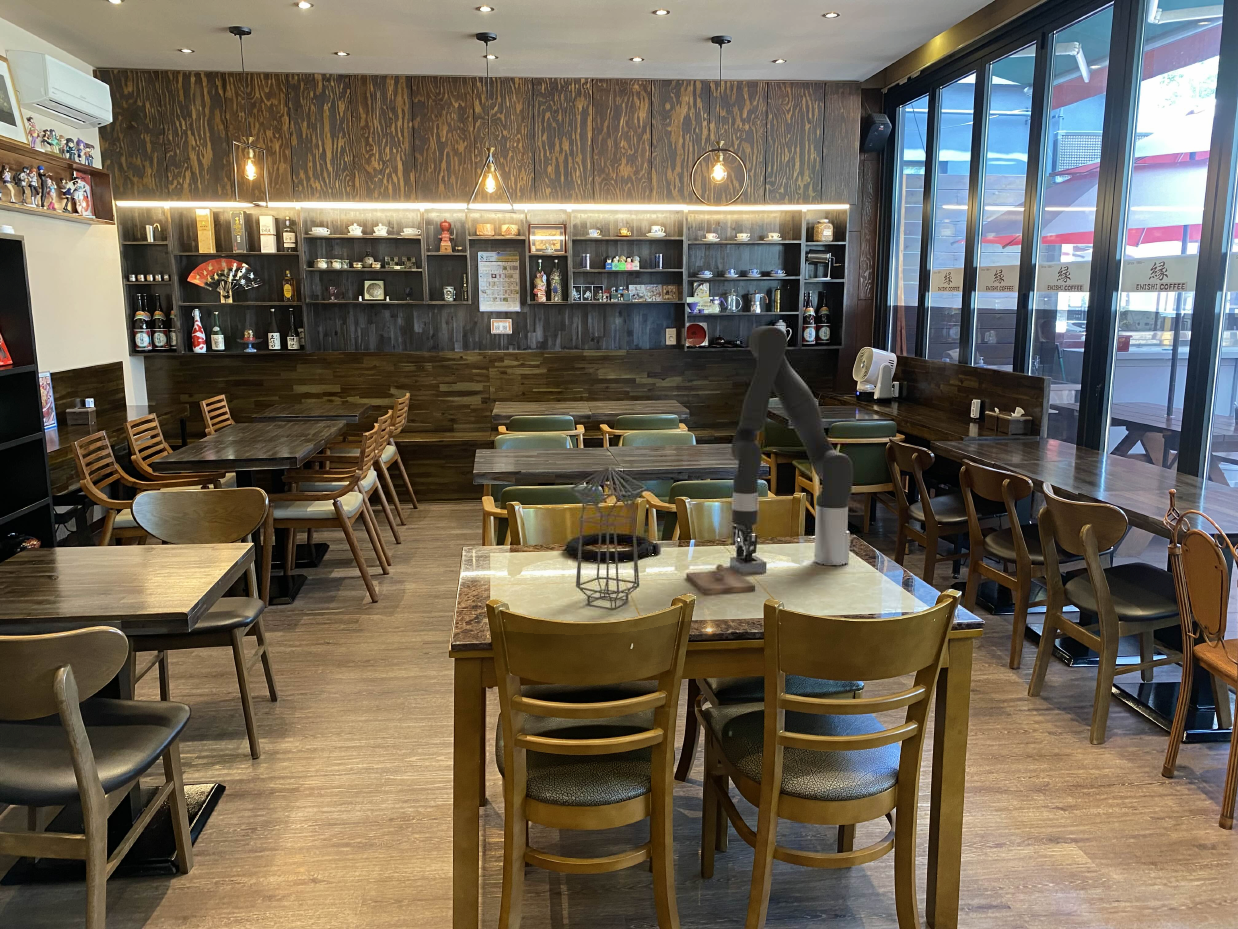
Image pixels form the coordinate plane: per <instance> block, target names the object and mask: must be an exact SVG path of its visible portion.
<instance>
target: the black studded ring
mask: <svg viewBox="0 0 1238 929" xmlns="http://www.w3.org/2000/svg"><path fill="white" fill-rule="evenodd" d="M579 539H580V535H578V536H577V537H574V538H571V539H570V540H568V541H567V543H566V544H565V547H564V548H565V551H566V553H567V555H569V556H570V555H571V556H570V557H572V556H573V557H572V558H575V557H577V558H576V559H578V552H579ZM616 539H617V544H620V543H626V544H625V545H627V544H631V545H630V546H634V544H633V534H631V533H630V534H629V533H623V532H622V533H617V532H616ZM602 544H607V532H601V545H602ZM609 544H615V541H614V532H609ZM584 545H586V546H591V545H599V533H597V532H595V533H591V534H582V548H581V559H585V560H584V561H588V560H593V561H598V550H597V549H590V548H583V547H585V546H584ZM636 546H638V547H637V559H638V558H640V559H642V558H641V557H643V558H645V557H647V556H648V557H651V556H657V555H658V554H660V555H661V553H662V546H661V543H658V542H653V541H651V540H649V539H648V538H647V537H644V536H641V535H638V534H636ZM656 553H657V554H656ZM652 554H654V555H652ZM617 559H618V561H623V562H625V561H624V560H630V561H634V560H633V559H634V547H633V548H628V549H617ZM638 560H639V559H638ZM593 561H592V562H593ZM600 561H607V550H601V549H600ZM609 561H615V550H609Z"/></svg>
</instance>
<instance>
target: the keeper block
mask: <svg viewBox="0 0 1238 929" xmlns="http://www.w3.org/2000/svg"><path fill="white" fill-rule="evenodd" d="M715 569H716V570H712V571H711V570H710V571H708V570H707V571H696V572H686V573H685V574H686V575H685V576H686V577H685V578H686V579H687V580H688V581H689V582H690V583H691V584H692V585H693V586H695V587H696V589H698V590H699V591H700V592H701V593H703V594H704V595H718V594H731V593H732V594H733V593H744V592H745V593H747V592H756V585H755V583H753V582H751V581H750V580H749V579H747V578H746V577H745V576H743V574H739V573H737V572H736V571H735V570H733V569H727V570H726V569H725V567H724V565H723V564H717V565H716V567H715Z"/></svg>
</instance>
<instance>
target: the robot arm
mask: <svg viewBox="0 0 1238 929" xmlns="http://www.w3.org/2000/svg"><path fill="white" fill-rule="evenodd" d="M748 347H749V349H750V351H751V353H752V355H753V357H754V358H755V360H756V361H757V362H756V366H755V367H756V369H755V370H754V371H755V373H754V375H753V378H752V381H751V383H750V386H748V387H749V388H748V390H747V392H746V393H745V397H744V400H743V404H742V409H741V414H740V419H739V425H738V426H737V428H736V431H735V434H734V436H733V439H732V443H731V454H732V457H733V459H734V460H736V461H738V463H737V464H738V465H737V471H736V472H735V473H734V475H733V484H732V485H733V487H732V488H733V489H732V490H733V491H732V492H733V493H732V498H731V500H732V501H731V523H732V525H731V526H732V527H731V528H732V545H733V546H735V547H734V548H735V549H736V550H735V552H736V553H735V557H741V556H744V562H752V556H753V555H754V554H757V545H758V537H759V536H758V533H754V529H753V526H755V525H757V524H759V495H758V494H759V491H758V490H759V481H758V480H759V474H760V472H761V471H760V470H761V466H762V460H763V451H762V448H761V446H760V444H759V443H758V442H757V438H758V434H759V433H760V432H762V431H763V430H764V426H765V424H766V418H767V413H768V409H769V404H770V399H771V395H772V391H774V393H775V395H776V397H777V398H778V400H779V402H780V405H781V407H782V408H783V411H784V413H785V415H786V416H787V419H788V420H789V422H790V424H791V425H792V427H793V429H794V431H795V433H796V434H797V436H798V438H799V440H800V441H801V443H802V444H803V447H804V449H805V451H806V454H807V457H808V459H809V461H810V463H811V467H812V470H813V471H814V473H815V475H816V476H817V477H818V478H819V479H821V481H822V482H821V484H822V485H821V490H820V491H821V492H820V493H819V494H817V496H816V501H815V502H816V503H815V527H814V528H815V530H814V555H813V557H814V563H816V562H817V563H816V564H818V563H819V564H818V565H822V564H824V565H823V566H831V565H837V566H842V564H843V565H845V563H846V564H849V563H850V543H851V542H850V540H851V539H850V538H851V533H850V531H849V530H848V520H849V519H848V518H849V517H848V515H849V501H850V499H851V496H852V490H853V488H852V487H853V480H854V479H853V477H854V470H853V469H854V467H853V462H852V460H851V458H849V456H848V455H846V454H845V453H841V452H839V451H837V450H836V449H834V447H833V445H832V444H831V442H830V440H829V438H828V437H827V435H826V433H825V432H826V431H825V429H824V426H823V425H824V424H823V418H822V414H821V409H820V407H819V405H818V402H817V401H816V398H815V396H814V395H813V393H812V391H811V389H810V388H809V387H808V385H807V384H806V382H804V380H803V379H802V378H801V377H800V375H799V374H798V373H797V372H796V371H795V370H794V369H793V368H792V366H791V365H790V363H789V361H788V360H787V357H786V355H785V354H786V350H787V347H788V336H787V334H786V333H785V330H783V329H782V328H780V327H779V326H773V325H763V326H759V327H756V328H754V329H753V330H752V331H751V333H750V334H749V337H748Z"/></svg>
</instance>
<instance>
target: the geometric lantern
mask: <svg viewBox="0 0 1238 929" xmlns="http://www.w3.org/2000/svg"><path fill="white" fill-rule="evenodd" d="M607 477H608V483H607V482H606V481H607ZM621 477H622V478H623V479H625V480H627V481H629V482H630V483H632V484H634V485H637V486H629V485H628V484H627V483H626V482H625V481H624V480H623V479H622V478H621ZM592 478H593V479H592ZM612 478H613V480H614V483H615V484H613V480H612ZM591 479H592V480H591ZM589 480H590V482H589V483H588V484H586V486H584V487H583V488H578V487H579V486H581V485H583V484H584V483H586V482H588V481H589ZM602 481H603V482H602ZM620 483H621V484H622V485H623V486H624V487H625V488H624V487H622V485H621V484H620ZM601 485H603V486H605V487H606V488H607V490H609V491H610V493H598V490H599V489H600V486H601ZM614 488H615V489H617V491H618V492H616V491H615V490H614ZM636 489H637V490H636ZM648 489H649V488H648V487H646V486H645V485H643V484H641V483H639V482H638V481H636V480H634V479H632V478H631V477H630V476H628V475H626V474H625V473H623V472H620V471H619V470H617V469H616V468H614V467H612V466H611V467H610V466H608V467H607V466H606V467H604V468H603V469H601V470H599V471H597V472H596V473H595V474H594V473H593V474H592V475H591V476H589V477H587V478H585V479H583V480H582V481H580V482H578V483H577V484H575V485H573V486H571V487H570V488H568V491H569V492H571V493H572V494H573V495H575V497H576V498H578V499H579V500H580V501H581V502H582V506H581V515H580V518H579V521H580V522H579V524H580V525H579V536H580V539H579V552H578V558H577V567H576V568H577V569H576V580H575V588H577V589H578V590H580V592H582V594H584V595H585V596H586V599H587V600H586V605H587V606H589V607H590V606H591V607H596V608H600V609H601V608H602V609H607V610H616V609H618V608H620V607H622V606H624V605H625V604H627V603H629V602H630V601H629V595H630V594H632V593H633V592H634V591H636V590H637V589H639V587H640V576H639V575H640V574H639V562H638V561H639V559H637V548H638V547H637V546H636V535H637V532H636V507H635V504H636V500H638V499H639V497H640V496H642V494H643V493H644V492H645V491H646V490H648ZM592 490H593V491H592ZM633 490H635V491H633ZM581 494H582V495H581ZM587 495H589V497H587ZM612 496H613V497H617V499H616V501H615V502H614V504H613V505H612V507H611V508H610V510H609V511H608V513H607V514H606V513H604V512H603V511H602V509H601V507H600V506H599V504H601V503H603V502H605V501H606V500H608V499H609V498H611V497H612ZM623 496H624V497H623ZM596 497H603V498H602V499H600V500H599V501H597V502H596ZM632 498H633V499H632ZM631 499H632V501H631V502H629V501H630V500H631ZM619 500H620V501H621V502H622V504H623V505H622V506H621V508H619V510H618V512H617V514H611V513H612V512H613V510H614V508H615V507H616V505H617V504H618V502H619ZM588 501H590V502H591V503H588ZM631 505H632V513H631V509H630V506H631ZM624 506H625V507H627V509H628V512H629V515H630V516H626V515H619V514H620V513H621V511H622V509H623V508H624ZM586 507H595V509H596V511H597V512H598V514H595V515H592V516H588V517H584V515H585V514H584V513H585V510H586ZM596 517H599V521H598V522H597V521H591V520H589V519H592V518H596ZM610 517H615V518H614V519H613V521H612V522H611V523H610ZM617 518H624V519H625V518H626V519H631V520H627V521H622V522H619V523H615V521H616V519H617ZM603 520H604V521H605V523H603ZM584 523H589V524H590V523H591V524H597V525H599V531H598V532H599V544H598V562H597V569H596V577H595V578H592V579H588V580H586V581H583V582H581V575H582V572H581V570H582V560H581V548H583V546H582V535H583V527H584V526H583V525H584ZM627 523H632V535H633V544H634V545H633V548H634V560H633V577H634V580H627V579H620V578H619V564H618V563H619V562H618V559H617V550H618V543H617V539H616V533H617V526H619V525H623V524H627ZM602 526H606V533H607V543H606V551H607V562H606V576H602V577H601V576H600V550H601V546H602V544H601V533H602V528H603V527H602ZM610 526H613V533H614V541H615V543H614V551H615V562H614V563H615V576H616V577H615V578H614V577H609V576H610V574H609V571H610V562H609V551H610V543H609V533H610ZM600 580H605V585H604V588H603V589H602V586H601V581H600ZM609 580H610V581H616V582H615V583H616V590H613V589H612V590H611V589H609V586H610V585H609V584H610V583H609ZM594 581H595V582H596V581H597V582H598V586H599V589H598V590H597V589H592V588H587V587H581V586H583V585H586V584H588V583H592V582H594ZM620 582H622V583H628V584H632V585H631V586H630V587H626V588H624V589H622V590H620ZM585 591H588V592H592V593H590V594H588V593H586V592H585ZM595 594H599V596H598V597H597V596H593V595H595ZM619 594H623V595H622V596H619ZM611 595H615V596H614V597H613V596H611ZM618 596H619V597H618ZM601 597H602V598H601ZM607 597H609V598H608V599H607ZM613 598H614V599H613ZM592 599H593V600H592ZM619 599H621V600H620V601H625V600H626V601H625V602H623V603H620V604H619V605H617V600H619ZM597 600H601V601H605V602H606V601H608V602H610V607H607V606H602V605H597V604H591V603H593V602H595V601H597ZM613 602H614V607H613Z"/></svg>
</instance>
